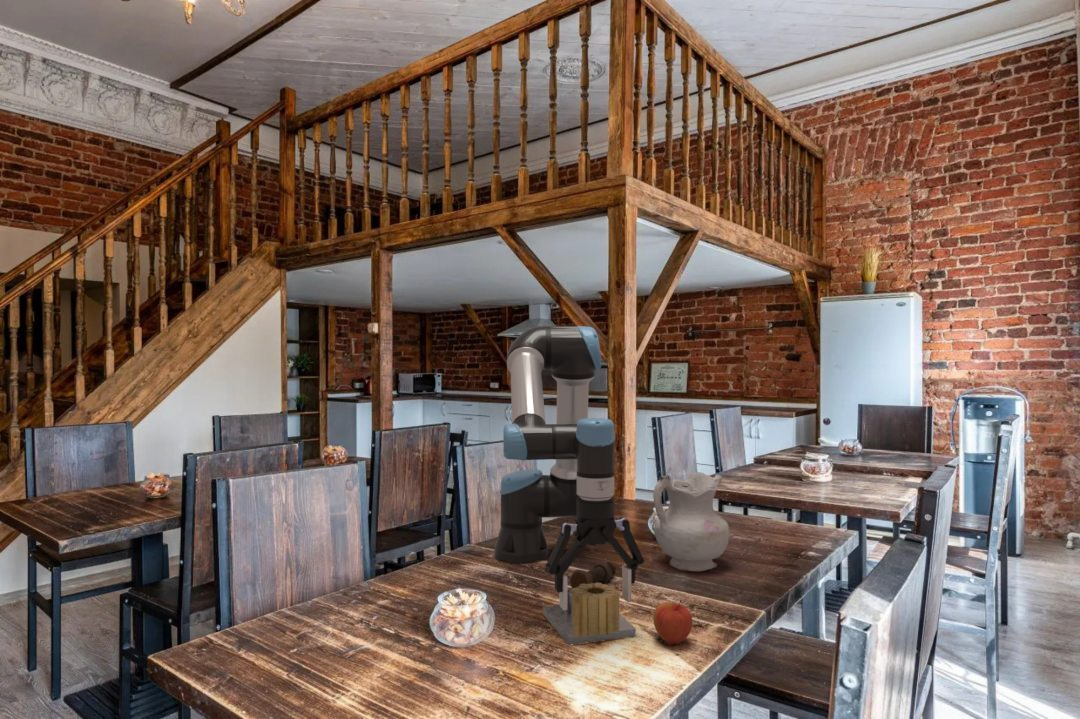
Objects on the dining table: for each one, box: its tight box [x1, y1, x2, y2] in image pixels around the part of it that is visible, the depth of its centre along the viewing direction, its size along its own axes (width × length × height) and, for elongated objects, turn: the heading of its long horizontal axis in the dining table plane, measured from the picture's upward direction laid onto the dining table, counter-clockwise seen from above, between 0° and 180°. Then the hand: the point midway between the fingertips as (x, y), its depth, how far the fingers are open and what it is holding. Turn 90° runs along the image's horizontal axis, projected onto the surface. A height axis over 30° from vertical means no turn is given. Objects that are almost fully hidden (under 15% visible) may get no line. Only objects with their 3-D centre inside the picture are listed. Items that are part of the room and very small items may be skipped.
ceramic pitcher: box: [652, 471, 730, 573], centre depth 167 cm, size 22×20×25 cm
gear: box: [572, 582, 620, 636], centre depth 124 cm, size 9×9×7 cm
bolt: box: [569, 561, 617, 589], centre depth 153 cm, size 6×5×15 cm
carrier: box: [542, 587, 637, 646], centre depth 128 cm, size 16×14×7 cm
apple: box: [652, 599, 693, 645], centre depth 121 cm, size 7×7×8 cm
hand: (595, 603), depth 124 cm, fingers open, 13 cm apart
